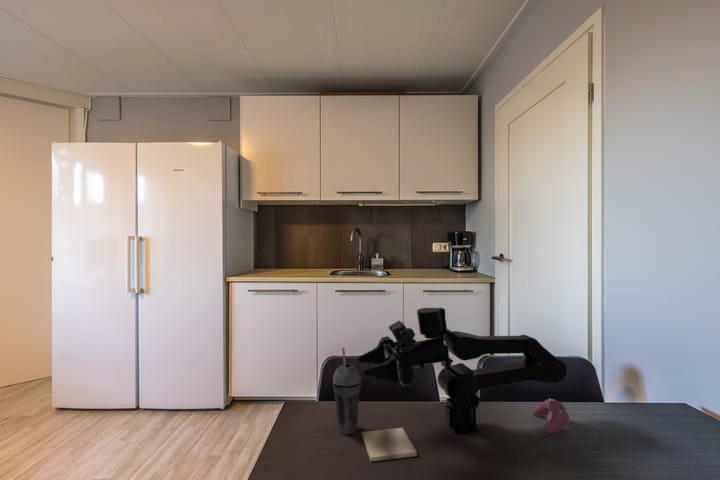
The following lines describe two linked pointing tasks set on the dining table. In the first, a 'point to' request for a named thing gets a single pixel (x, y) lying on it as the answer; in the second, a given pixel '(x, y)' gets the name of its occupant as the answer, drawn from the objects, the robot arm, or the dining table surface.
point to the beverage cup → (346, 396)
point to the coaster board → (388, 444)
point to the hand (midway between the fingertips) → (361, 365)
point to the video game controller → (552, 415)
